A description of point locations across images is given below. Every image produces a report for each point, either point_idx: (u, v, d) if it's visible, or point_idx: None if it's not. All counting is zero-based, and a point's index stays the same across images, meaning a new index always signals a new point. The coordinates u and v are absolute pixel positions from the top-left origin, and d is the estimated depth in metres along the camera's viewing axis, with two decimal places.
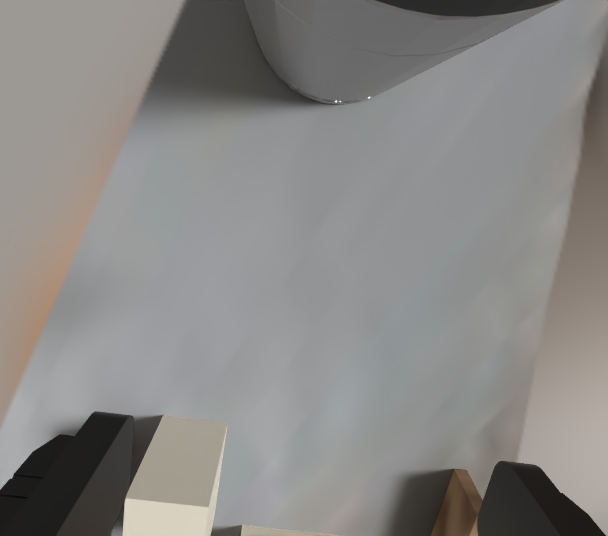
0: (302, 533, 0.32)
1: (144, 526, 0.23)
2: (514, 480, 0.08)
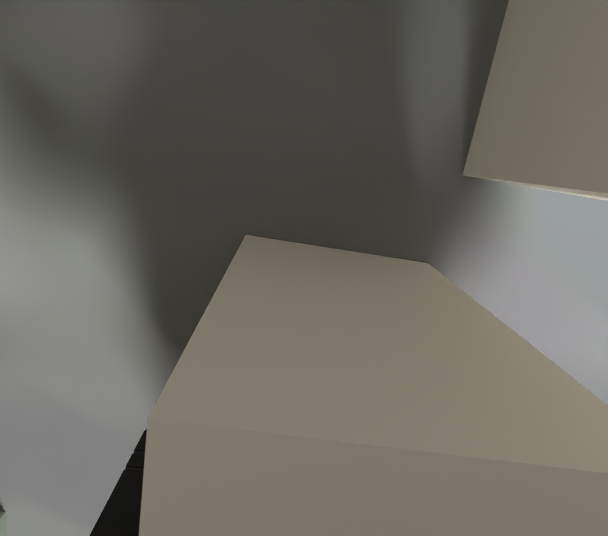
0: None
1: None
2: None
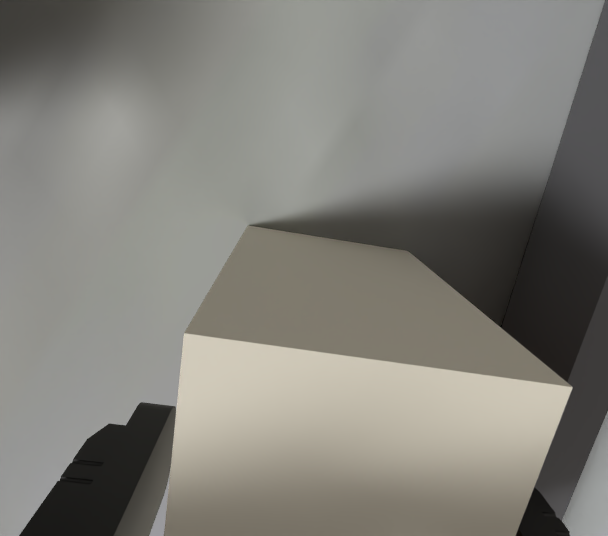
0: None
1: None
2: None
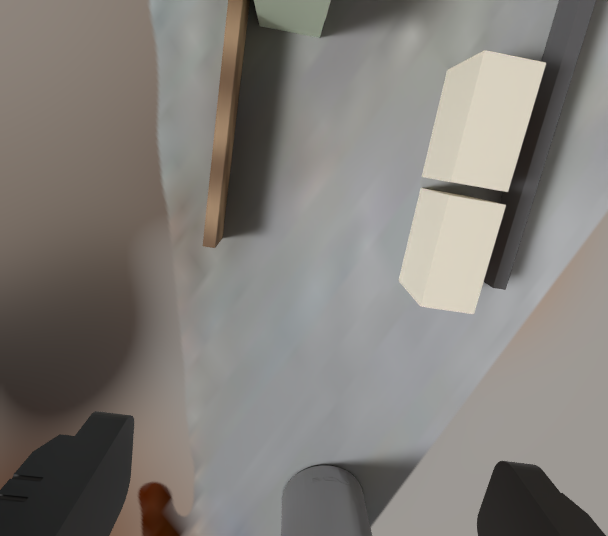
0: None
1: (466, 290, 0.33)
2: (514, 481, 0.08)
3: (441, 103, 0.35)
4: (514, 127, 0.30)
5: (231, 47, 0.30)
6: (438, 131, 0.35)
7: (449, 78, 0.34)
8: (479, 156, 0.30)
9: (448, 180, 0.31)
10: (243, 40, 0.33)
